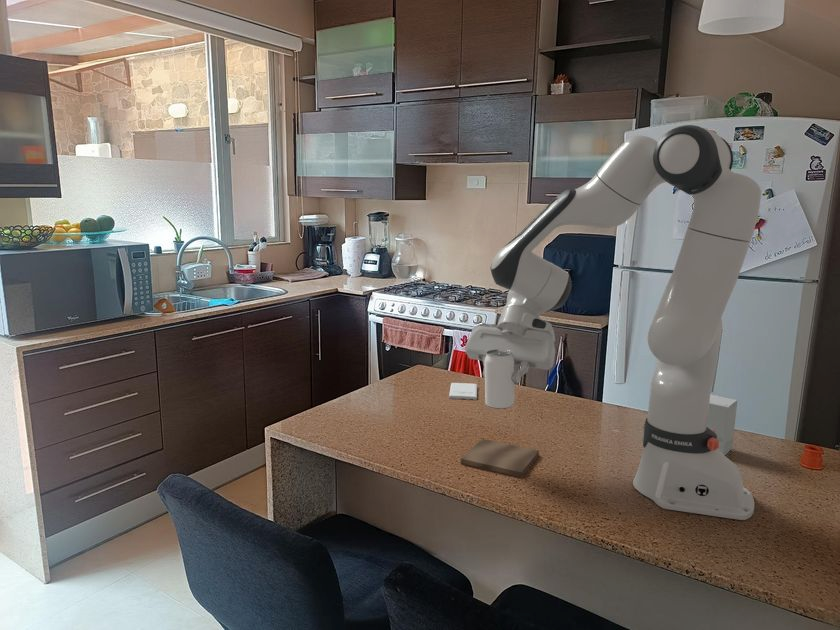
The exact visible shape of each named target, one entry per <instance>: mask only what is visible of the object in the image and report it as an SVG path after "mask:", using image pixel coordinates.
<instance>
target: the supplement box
mask: <svg viewBox="0 0 840 630" xmlns="http://www.w3.org/2000/svg"><path fill="white" fill-rule="evenodd" d="M737 409H738V399H734V398H730V397H723V396H720V395H716V394H710V402H709V411H708V419H707V427H708V428H709V429H711V430H712V431H713V429H714V430H715V432H716V433H715V434H716V435H717V440H718V441H719V447H718V450H719V451H720V452H721V453H722V454H723V455H724V456H725V455H726V454H727V453H728V452H729V451H730V450H731V449H732V450H733V445H734V444H733V442H734V435H735V426H736V425H735V424H736V417H737ZM732 450H731V451H732ZM731 451H730V452H731ZM730 452H729V453H730ZM729 453H728V454H729ZM728 454H727V455H728ZM727 455H726V456H727Z"/></svg>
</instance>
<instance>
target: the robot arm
mask: <svg viewBox="0 0 840 630" xmlns="http://www.w3.org/2000/svg"><path fill="white" fill-rule="evenodd" d="M733 166H734V153H733V150H732V148H731V146H730V144H729V142H727V141H726V139H724V138H723V137H721V136H720V135H719V134H718V133H717V132H714V131H713V130H711V129H708V128H705V127H702V126H699V125H695V124H693V125H692V124H685V125H680V126H676V127H674V128H672V129H670V130H669V131H667V132H665V133H664V135H662V136H661V137H660V138H659V140H655V138H651V137H649V136H646V135H633V136H630V137H629V138H628V139H626V140H625V141H623V143H622V144H621V145H620V146H618V148H617V149H616V150H614V152H613V153H612V154H611V155H610V156H609V157H608V158H607V159H606V160H605V162H604V163H603V164H602V165H601V167H600V168H599V170H598V171H597V172H596V173H595V175H594V176H593V177H592V178H591V179H590V180H589V181H588V182H586V183H584V184H583V185H581V186H579V187H578V188H574V189H573V188H572V189H569V188H567V189H566V190H564V191H563V192H561V193H559V195H557V196H556V197H555V198H554V199H553V200H552V201H550V203H548V205H546V206H545V208H543V209H542V210H541V211H540V212H539V213H538V214H537V215H536V216H535V218H533V219H532V220H531V221H530V223H528V224H527V225H526V227H524V228H523V229H522V230H521V232H519V233H518V235H516V236H515V237H514V238H513V239H511V240H510V241H509V242H507V244H505V245H504V246H503V247H501V249H500V250H499V251H498V252H497V253H496V255H495V256H494V257H493V260H492V262H491V264H490V268H489V269H490V273H491V276H492V279H493V281H494V283H495V284H496V285H497V286H500V287H502V288H503V289H507V290H508V292H507V295H506V296H507V297H506V303H505V305H504V307H503V309H502V311H501V314H500V316H499V318H498V319H499V320H498V322H497V324H494V323H486V322H481V323H478V324H476V325H474V326H473V327H472V329H471V333H470V336H469V337H468V339H467V342H466V343H465V345H464V351H465V354H466V355H467V358H468V359H470V360H477V361H482V365H483V367H484V368H483V371H482V376H483V378H485V357H486V355H487V353H486V352H487V351H490V350H497V351H502V352H508V351H506V350H509V351H511V352H512V356H513V358H514V366H517V367H520V368H519V369H518V370H517V371H514V372H513V376H512V380H513V382H514V383H517V384H520V382H521V379H522V377H523V376H525V374H527V373H528V371H529V369H530V368H531V369H538V370H544V371H549V370H550V369H552V368H553V366H554V363H555V357H556V347H555V342H556V335H555V330H554V328H553V325H552V323H551V322H549V321H546V320H545V319H542V318H540V317H541V314H542V313H549V312H552V311H555V310H557V309H560V308H561V307H563V306H564V305H565V304H566V302H567V300H568V299H569V296H570V294H571V290H572V278H571V275H570V273H569V272H568V271H566V270H565V269H564V268H561V267H560V266H558V265H556V264H555V263H553V262H551V261H548V260H547V259H544V258H543V257H541V256H539V255H537V254H536V253H534V252H533V250H534V249H536V248H537V247H538V246H539V245H540V244H541V243H542V242H543V241H544V240H545V239H546V238H548V236H549V235H550V234H551V233H552V232H553V231H555V230H556V229H557V228H559V227H562V226H567V225H568V226H569V225H570V226H571V225H575V226H585V227H588V228H589V227H590V228H593V229H594V228H595V229H610V228H616V227H618V226H621V225H623V224H624V223H626V222H628V220H630V218H632V216H633V215H634V214H635V213H636V212H637V210H638V209H640V207H641V205H642V204H643V203H644V202H645V201H646V199H647V198H648V196H649V195H650V194H651V193H652V192H653V191H654V189H656V188H657V187H659V185H661V184H664V183H667V184H669V185H671V186H673V187H675V188H677V189H678V190H680V191H682V192H683V193H685V194H687V195H690V196H692V197H693V207H692V212H691V215H690V218H689V222H688V224H687V228H686V231H685V235H684V236H683V237H684V238H683V240H682V243H681V244H682V245H681V247H680V251H679V253H678V256H677V260H676V263H675V266H674V268H673V271H672V273H671V276H670V278H669V280H668V282H667V285H666V286H665V289H664V292H663V294H662V296H661V297H660V301H659V303H658V306H657V309H656V311H655V314H654V316H653V319H652V322H651V325H650V327H649V328H648V331H647V344H648V348H649V350H650V352H651V353H652V355H653V356H654V357H655V358H656V359H657V360H656V364H655V368H654V372H653V374H652V375H653V376H652V379H651V383H650V390H649V400H648V410H647V418H645V421H644V425H643V432H642V446H643V449H642V454H641V459H640V462H639V465H638V468H637V471H636V473H635V476H634V478H633V481H632V485H633V486H634V488H635V489H636V490H637V491H638V492H639V493H640V494H642V495H643V496H645V497H647V498H648V499H650V500H652V501H653V502H654V503H655V504H656V505H657V506H658V507H660V508H661V509H664V510H669V511H675V512H676V511H677V512H682V513H683V512H684V513H690V514H698V515H703V516H704V515H705V516H711V517H716V518H725V519H731V520H732V519H733V520H739V521H745V520H746V521H747V520H748V519H750V518H751V517H752V516H753V515H754V513H755V500H754V497H753V495H752V493H751V492H750V490H748V489H747V488H746V487H744V482H743V476H742V474H741V471H740V469H739V468H738V466H737V464H735V463H734V462H733V461H731V460H730V459H729V458H728V457H727V455H726V456H724V455H723V454H722V453H721V452H720V451H719V450H718V447H719V441H718V440H717V435H716V434H715V433H716V432H715V430H714V429H713V431H712V430H711V429H709V428H708V427H707V419H708V411H709V402H710V394H711V393H712V386H713V381H714V377H715V373H716V367H717V362H718V357H719V351H720V344H721V339H722V331H723V320H722V317H723V314H724V311H725V310H726V307H727V304H728V302H729V300H730V298H731V295H732V293H733V290H734V288H735V286H736V285H737V281H738V278H739V276H740V273H741V269H742V267H743V264H744V262H745V258H746V255H747V253H748V250H749V247H750V244H751V241H752V238H753V235H754V233H755V229H756V225H757V220H758V217H759V211H760V206H761V198H762V191H761V188H760V187H761V186H760V185H759V184H758V183H757V182H756V181H755V180H754V179H752V178H751V177H749V176H747V175H744V174H741V173H736V172H734V171H732V169H733ZM498 349H499V350H498ZM711 395H712V394H711Z"/></svg>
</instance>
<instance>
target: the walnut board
mask: <svg viewBox="0 0 840 630" xmlns="http://www.w3.org/2000/svg"><path fill="white" fill-rule="evenodd" d="M539 455H540V450H537V449H535V448H534V449H533V448H527V447H523V446H519V445H513V444H509V443H505V442H500V441H496V440H492V439H491V440H490V439H487V438H486V439H485V438H482V439H480V440H479V441H478V442H477V443H476V444H475V445H474V446H472V447H471V449H469V451H467V452H466V453H465V454H464V455H463V456H462V457H461V458H460V464H461V465H466V466H469V465H470V466H469V467H473V466H474V468H478V469H483V470H487V471H491V472H495V473H499V474H504V475H509V476H513V477H516V478H522V477H523V476H524V475H525V474H526V472H527V471H528V470H529V468H531V466H532V465H533V464H534V462H535V461H536V459H538V457H539Z"/></svg>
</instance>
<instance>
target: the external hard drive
mask: <svg viewBox="0 0 840 630" xmlns="http://www.w3.org/2000/svg"><path fill="white" fill-rule="evenodd" d="M448 399H450V400H452V399H453V400H455V399H456V400H469V399H473V400H474V401H475V400H476V401H477V399H478V384H477V383H469V382H467V383H465V382H451V383H450V389H449V395H448Z"/></svg>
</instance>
